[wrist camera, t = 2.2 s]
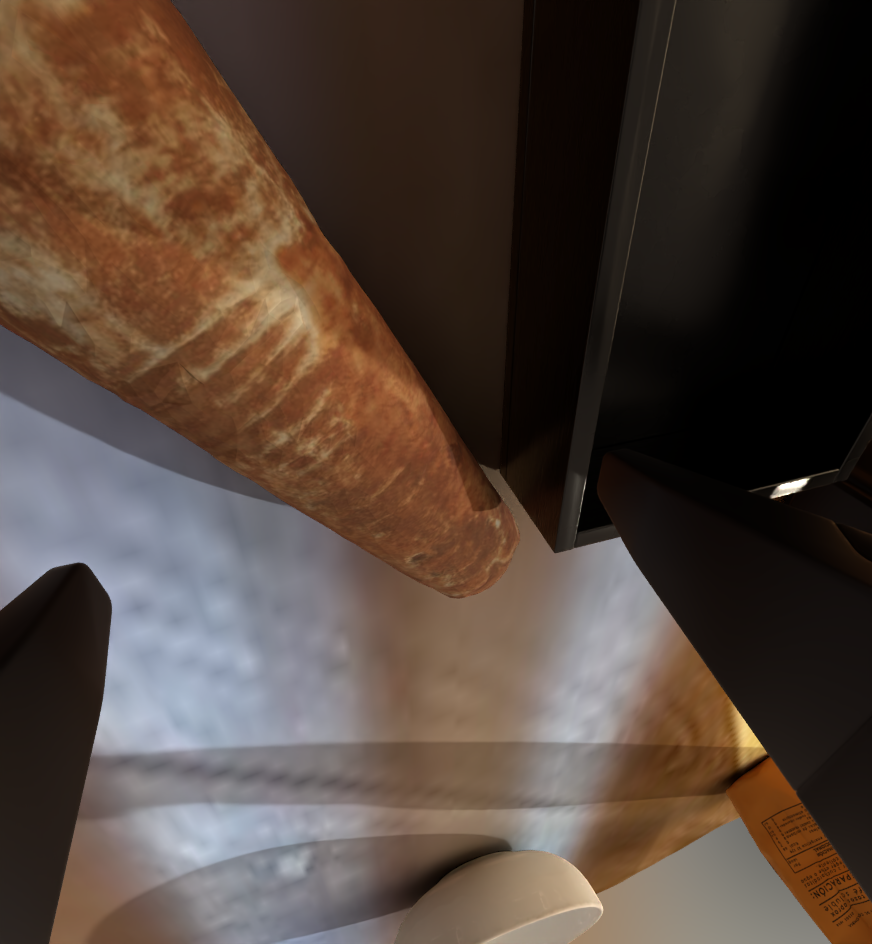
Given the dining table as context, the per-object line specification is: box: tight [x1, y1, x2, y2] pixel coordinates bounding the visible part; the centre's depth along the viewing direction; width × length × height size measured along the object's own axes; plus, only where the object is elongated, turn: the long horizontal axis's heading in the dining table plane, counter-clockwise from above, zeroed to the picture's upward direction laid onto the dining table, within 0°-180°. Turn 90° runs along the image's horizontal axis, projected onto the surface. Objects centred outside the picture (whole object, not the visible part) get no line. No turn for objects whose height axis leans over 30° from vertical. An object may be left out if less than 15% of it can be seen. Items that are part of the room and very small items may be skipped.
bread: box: [0, 0, 520, 598], centre depth 12 cm, size 6×19×6 cm, turn 32°
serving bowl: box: [394, 850, 603, 944], centre depth 46 cm, size 21×21×7 cm
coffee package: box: [726, 757, 872, 944], centre depth 50 cm, size 10×12×22 cm
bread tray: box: [500, 0, 872, 553], centre depth 11 cm, size 12×23×5 cm, turn 3°
